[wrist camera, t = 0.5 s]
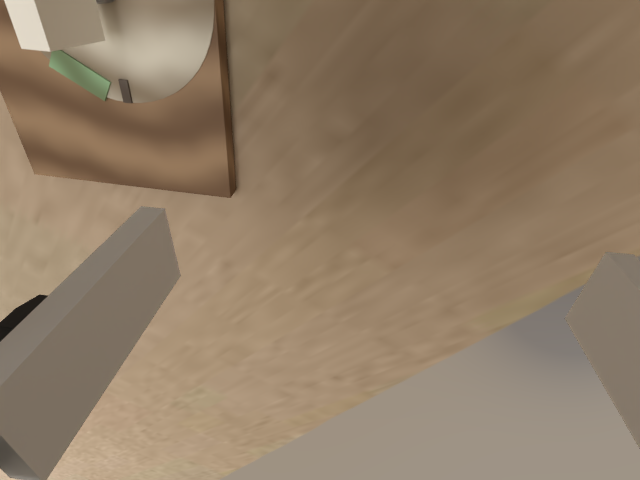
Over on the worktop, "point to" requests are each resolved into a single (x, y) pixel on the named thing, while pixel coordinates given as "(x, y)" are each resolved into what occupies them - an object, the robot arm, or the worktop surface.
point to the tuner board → (129, 99)
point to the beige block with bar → (56, 23)
